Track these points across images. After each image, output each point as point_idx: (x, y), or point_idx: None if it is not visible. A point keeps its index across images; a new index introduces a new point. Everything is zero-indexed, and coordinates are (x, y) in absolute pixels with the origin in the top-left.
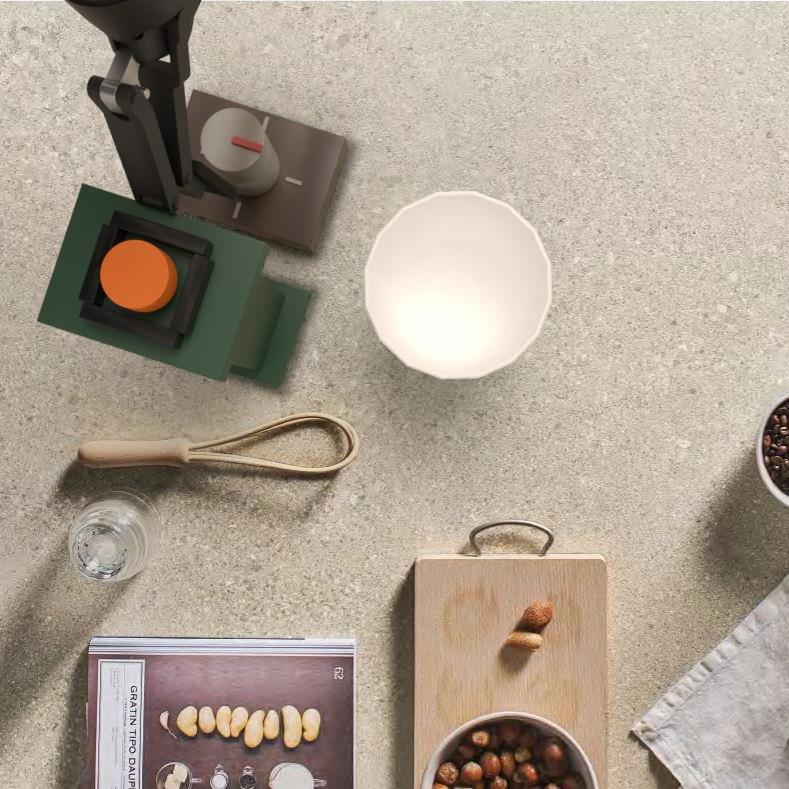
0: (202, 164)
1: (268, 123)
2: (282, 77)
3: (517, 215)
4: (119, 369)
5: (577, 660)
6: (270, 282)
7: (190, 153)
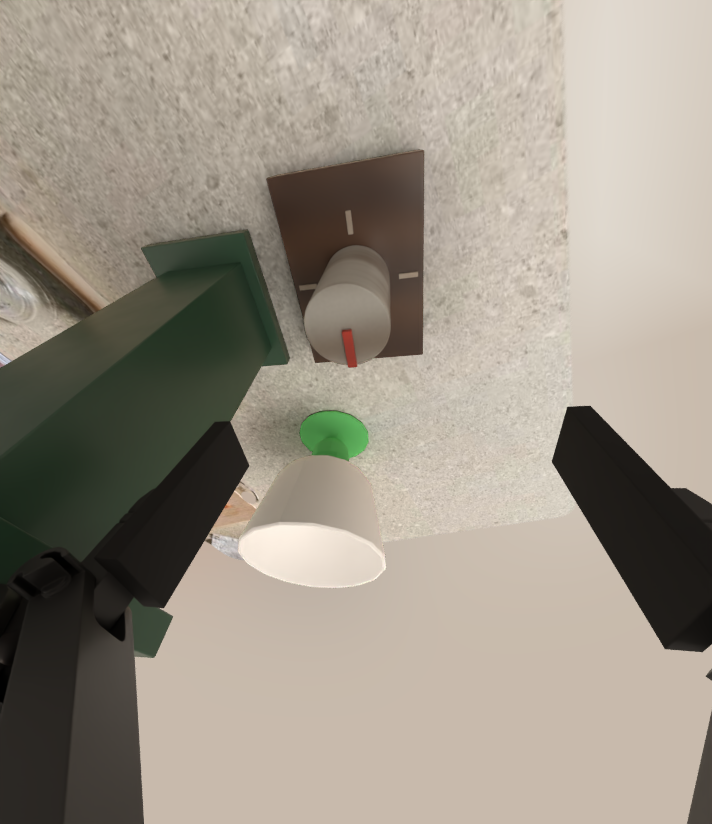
0: (169, 595)
1: (411, 277)
2: (474, 245)
3: (379, 573)
4: (100, 215)
5: (218, 517)
6: (273, 332)
7: (133, 655)
